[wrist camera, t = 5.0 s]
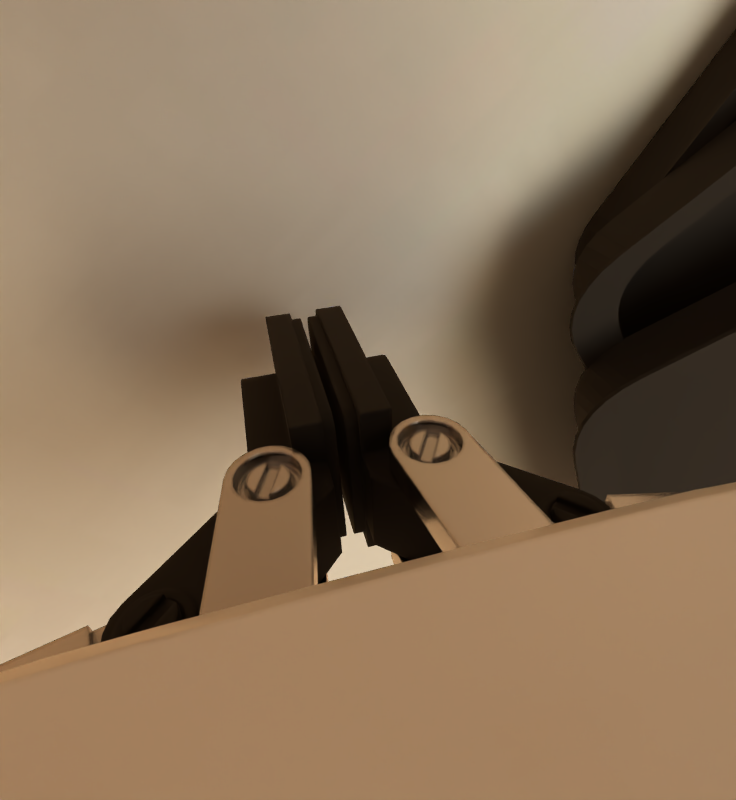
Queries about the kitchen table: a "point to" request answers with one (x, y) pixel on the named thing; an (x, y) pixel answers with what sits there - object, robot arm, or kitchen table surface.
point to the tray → (663, 307)
